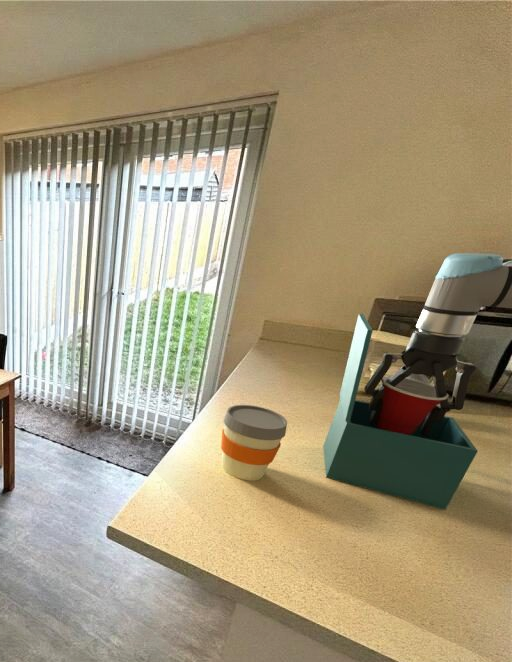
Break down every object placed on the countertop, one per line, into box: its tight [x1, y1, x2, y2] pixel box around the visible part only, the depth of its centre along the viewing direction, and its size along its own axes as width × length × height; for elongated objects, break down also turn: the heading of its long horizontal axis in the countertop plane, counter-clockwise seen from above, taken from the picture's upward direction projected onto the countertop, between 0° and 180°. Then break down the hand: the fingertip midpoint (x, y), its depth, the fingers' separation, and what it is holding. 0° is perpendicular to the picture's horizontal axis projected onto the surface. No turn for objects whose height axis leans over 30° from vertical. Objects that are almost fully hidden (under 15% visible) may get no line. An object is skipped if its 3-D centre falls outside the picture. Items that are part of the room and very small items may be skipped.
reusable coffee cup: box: [220, 404, 288, 481], centre depth 94 cm, size 13×13×15 cm
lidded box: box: [322, 398, 478, 510], centre depth 92 cm, size 20×17×15 cm
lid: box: [339, 313, 373, 422], centre depth 90 cm, size 21×17×1 cm
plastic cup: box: [376, 375, 450, 435], centre depth 88 cm, size 11×11×12 cm
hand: (396, 428), depth 89 cm, fingers closed on plastic cup, 8 cm apart
